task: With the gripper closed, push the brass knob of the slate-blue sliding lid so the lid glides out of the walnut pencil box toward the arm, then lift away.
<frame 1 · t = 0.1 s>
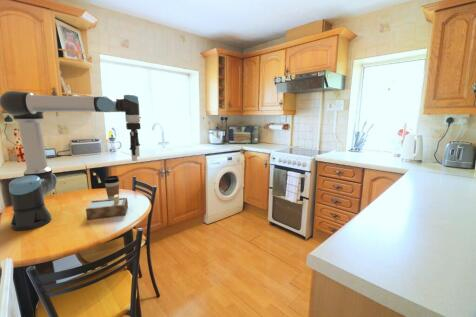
hand: (136, 158, 140), 28 cm above the table, fingers open, 13 cm apart
box: (108, 213, 130), on the table
coffee cup: (113, 200, 150), on the table
lid: (105, 201, 129), point 7 cm above the table, slide at 0.0 cm
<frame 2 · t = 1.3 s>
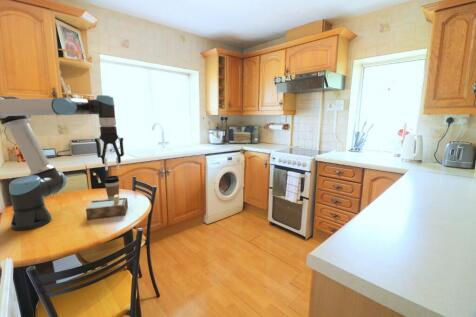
hand: (112, 169, 127), 25 cm above the table, fingers open, 5 cm apart
nothing on the table moved.
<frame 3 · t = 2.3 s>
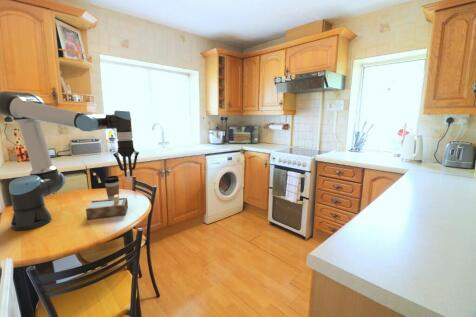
hand: (129, 181, 130), 17 cm above the table, fingers closed
nothing on the table moved.
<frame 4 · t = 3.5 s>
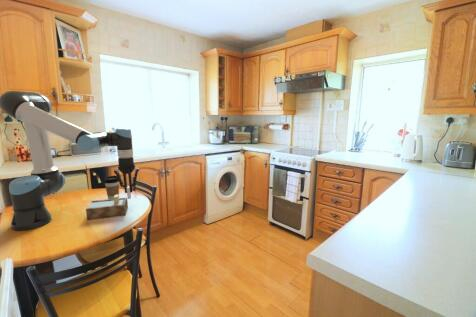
hand: (129, 198, 132), 8 cm above the table, fingers closed
nothing on the table moved.
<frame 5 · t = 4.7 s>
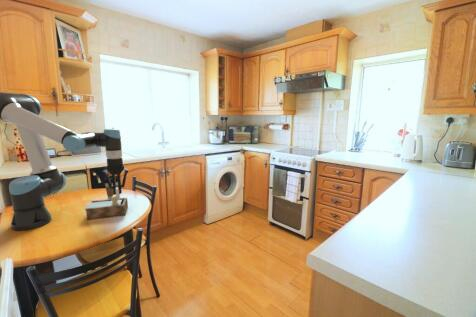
hand: (118, 199, 131), 7 cm above the table, fingers closed
lid: (104, 201, 128), point 7 cm above the table, slide at 0.9 cm, touching gripper
everything else where it was.
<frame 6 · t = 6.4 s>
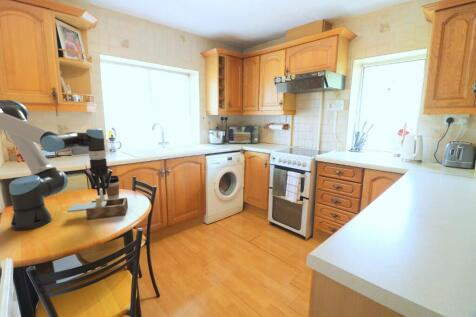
hand: (102, 200, 128), 8 cm above the table, fingers closed
lid: (87, 202, 126), point 7 cm above the table, slide at 8.6 cm, touching gripper
everything else where it was.
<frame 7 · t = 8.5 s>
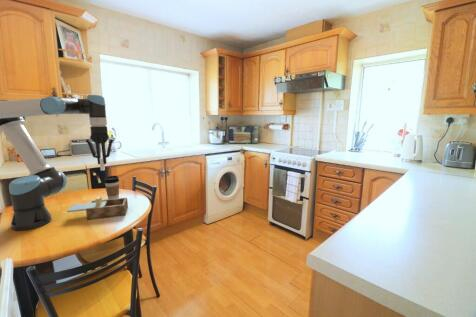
hand: (102, 170, 126), 25 cm above the table, fingers closed
lid: (87, 202, 126), point 7 cm above the table, slide at 8.7 cm
everything else where it was.
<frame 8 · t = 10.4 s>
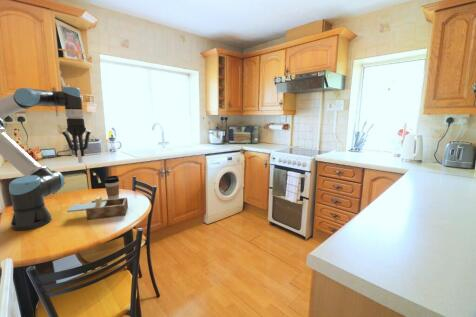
hand: (80, 162, 127), 28 cm above the table, fingers closed
nothing on the table moved.
at the end: lid slide at 8.7 cm; coffee cup moved 0.2 cm from its start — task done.
